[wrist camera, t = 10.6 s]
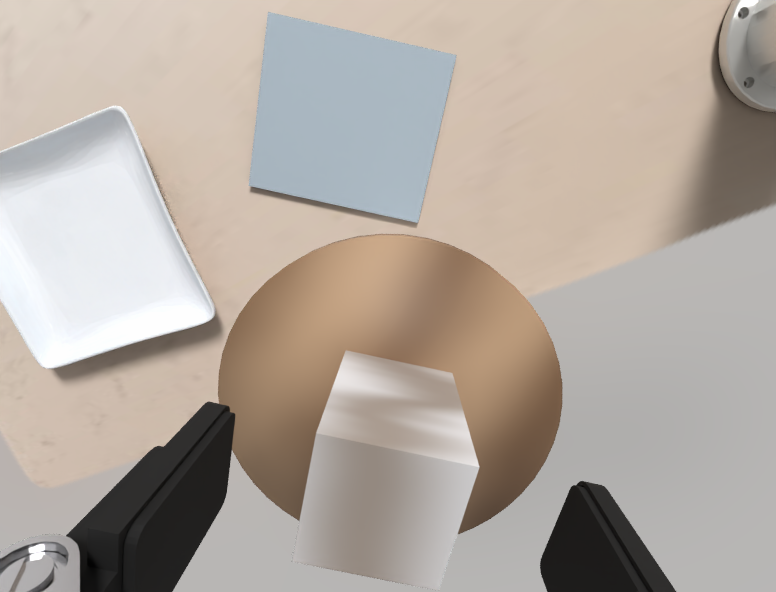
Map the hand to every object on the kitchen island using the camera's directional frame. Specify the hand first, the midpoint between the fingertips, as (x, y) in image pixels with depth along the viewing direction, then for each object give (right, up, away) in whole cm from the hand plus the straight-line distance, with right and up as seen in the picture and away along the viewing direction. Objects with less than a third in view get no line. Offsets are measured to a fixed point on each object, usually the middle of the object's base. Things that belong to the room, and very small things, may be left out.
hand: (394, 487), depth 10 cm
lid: (0, +1, +5) cm, 5 cm away
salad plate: (-30, +10, +30) cm, 44 cm away
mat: (-4, +21, +26) cm, 34 cm away
